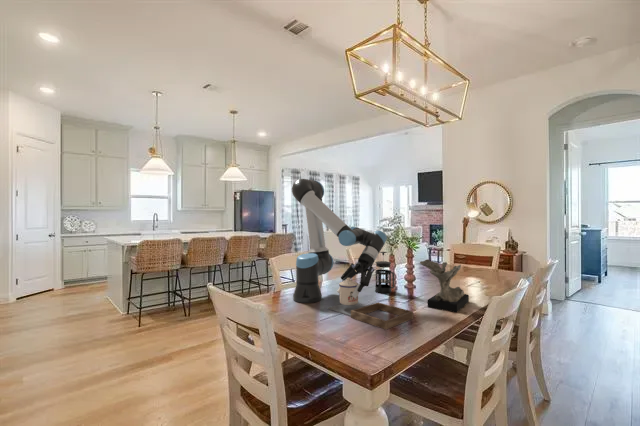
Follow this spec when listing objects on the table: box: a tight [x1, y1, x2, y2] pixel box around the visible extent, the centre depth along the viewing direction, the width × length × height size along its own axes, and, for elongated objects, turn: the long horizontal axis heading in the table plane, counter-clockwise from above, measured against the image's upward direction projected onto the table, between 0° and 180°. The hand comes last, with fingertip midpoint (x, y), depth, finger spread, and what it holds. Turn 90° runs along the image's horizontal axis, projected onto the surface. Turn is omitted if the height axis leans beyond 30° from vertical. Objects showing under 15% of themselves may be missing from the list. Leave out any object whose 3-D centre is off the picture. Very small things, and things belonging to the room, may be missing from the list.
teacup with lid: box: [338, 278, 359, 305], centre depth 153 cm, size 12×9×12 cm
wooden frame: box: [350, 302, 414, 330], centre depth 141 cm, size 19×19×3 cm
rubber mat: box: [327, 303, 366, 317], centre depth 153 cm, size 15×15×1 cm
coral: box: [419, 259, 470, 313], centre depth 161 cm, size 25×20×22 cm
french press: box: [374, 251, 395, 295], centre depth 185 cm, size 12×9×23 cm
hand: (346, 294), depth 151 cm, fingers closed on teacup with lid, 9 cm apart
